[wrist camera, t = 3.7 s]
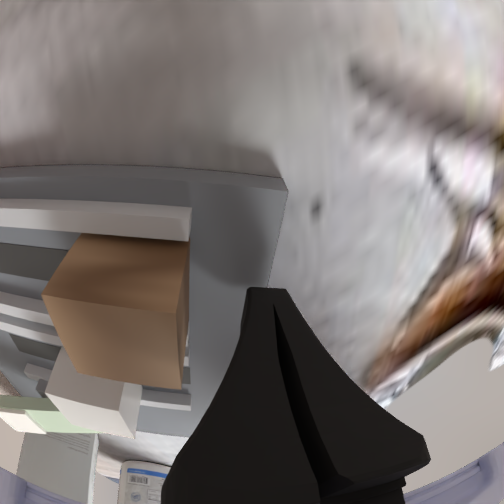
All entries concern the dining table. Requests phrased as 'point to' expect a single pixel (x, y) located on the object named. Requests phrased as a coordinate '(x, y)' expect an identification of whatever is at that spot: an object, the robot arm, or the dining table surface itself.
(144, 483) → the supplement tub
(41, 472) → the skincare box
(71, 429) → the sage rocker
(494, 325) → the dining table surface
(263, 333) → the robot arm
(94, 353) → the brown cube
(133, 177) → the control board
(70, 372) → the white cube
